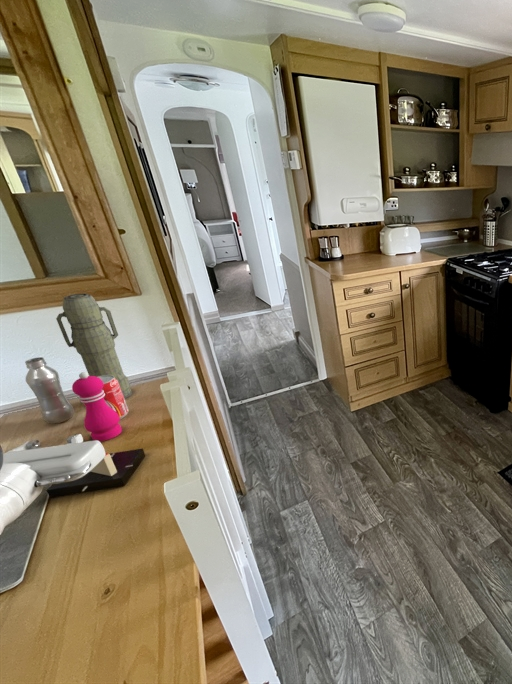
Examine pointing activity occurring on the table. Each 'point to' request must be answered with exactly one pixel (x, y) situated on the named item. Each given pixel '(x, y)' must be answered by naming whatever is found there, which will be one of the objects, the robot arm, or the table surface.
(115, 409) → the soda can
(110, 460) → the cream block red end
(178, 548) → the table surface
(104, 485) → the panel
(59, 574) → the table surface
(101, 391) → the pepper mill
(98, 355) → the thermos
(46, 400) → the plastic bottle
